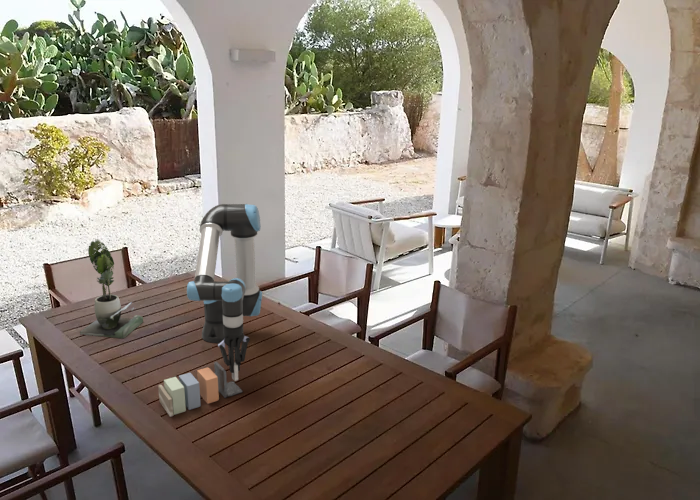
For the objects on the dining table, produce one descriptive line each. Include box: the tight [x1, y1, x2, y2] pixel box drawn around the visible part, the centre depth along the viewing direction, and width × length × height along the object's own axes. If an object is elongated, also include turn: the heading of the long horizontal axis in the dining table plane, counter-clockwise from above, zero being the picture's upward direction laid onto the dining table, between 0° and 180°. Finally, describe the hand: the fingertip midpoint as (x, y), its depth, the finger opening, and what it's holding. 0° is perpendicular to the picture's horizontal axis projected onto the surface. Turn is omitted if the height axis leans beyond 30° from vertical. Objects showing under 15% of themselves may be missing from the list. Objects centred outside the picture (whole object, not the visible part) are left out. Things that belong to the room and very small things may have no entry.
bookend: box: [213, 361, 244, 399], centre depth 224 cm, size 8×9×11 cm
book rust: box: [196, 367, 220, 405], centre depth 219 cm, size 4×9×10 cm, turn 36°
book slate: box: [178, 372, 202, 411], centre depth 215 cm, size 4×9×10 cm, turn 36°
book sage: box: [163, 376, 187, 416], centre depth 212 cm, size 4×9×10 cm, turn 36°
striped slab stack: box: [157, 384, 174, 417], centre depth 216 cm, size 18×12×7 cm, turn 126°
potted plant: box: [79, 238, 144, 339], centre depth 269 cm, size 22×19×45 cm
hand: (235, 379), depth 226 cm, fingers closed
